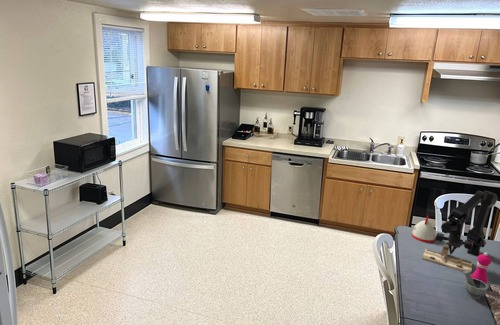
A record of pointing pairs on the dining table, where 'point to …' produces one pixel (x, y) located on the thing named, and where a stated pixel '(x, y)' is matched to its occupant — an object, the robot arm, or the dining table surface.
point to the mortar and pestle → (474, 286)
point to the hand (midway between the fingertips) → (450, 254)
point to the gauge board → (447, 260)
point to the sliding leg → (444, 252)
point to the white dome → (424, 231)
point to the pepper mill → (482, 267)
